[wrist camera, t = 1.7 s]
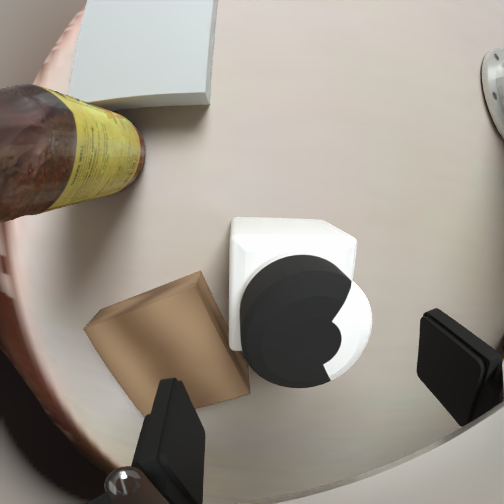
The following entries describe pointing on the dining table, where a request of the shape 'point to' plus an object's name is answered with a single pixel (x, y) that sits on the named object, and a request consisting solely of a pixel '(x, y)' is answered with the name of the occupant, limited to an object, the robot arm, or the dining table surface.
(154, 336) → the walnut block
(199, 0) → the grey block
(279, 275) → the medicine bottle
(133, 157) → the sauce bottle
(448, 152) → the dining table surface
